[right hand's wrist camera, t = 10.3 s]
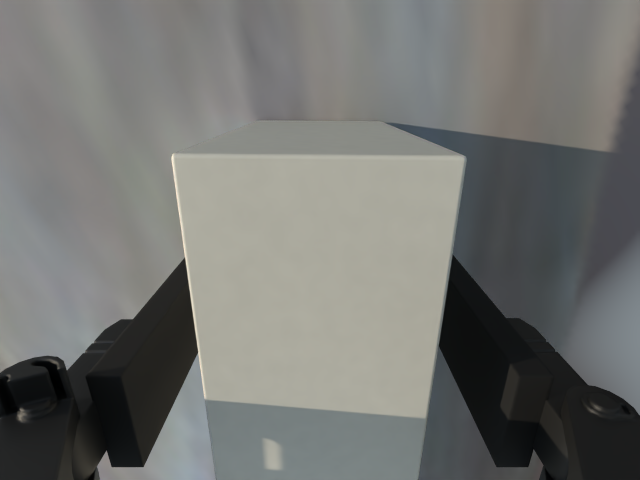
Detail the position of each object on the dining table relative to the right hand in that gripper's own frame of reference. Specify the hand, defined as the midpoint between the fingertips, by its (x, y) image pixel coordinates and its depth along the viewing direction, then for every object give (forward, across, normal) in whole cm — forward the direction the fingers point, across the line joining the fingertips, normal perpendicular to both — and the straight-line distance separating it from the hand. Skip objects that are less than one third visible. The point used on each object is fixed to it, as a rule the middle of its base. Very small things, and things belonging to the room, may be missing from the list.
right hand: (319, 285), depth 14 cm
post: (+2, 0, -28) cm, 29 cm away
